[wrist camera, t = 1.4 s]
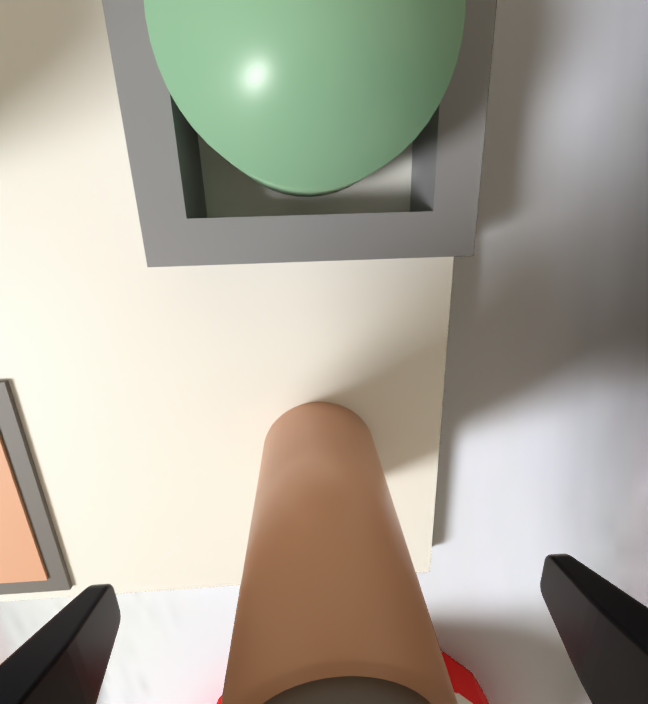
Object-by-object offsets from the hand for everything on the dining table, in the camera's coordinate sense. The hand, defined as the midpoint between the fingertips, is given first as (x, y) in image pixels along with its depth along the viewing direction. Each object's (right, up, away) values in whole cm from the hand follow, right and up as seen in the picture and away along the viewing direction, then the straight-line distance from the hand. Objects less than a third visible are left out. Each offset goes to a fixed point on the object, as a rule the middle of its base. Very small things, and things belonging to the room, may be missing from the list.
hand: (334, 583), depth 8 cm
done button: (-1, +11, 0) cm, 11 cm away
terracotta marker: (0, +2, +5) cm, 5 cm away
